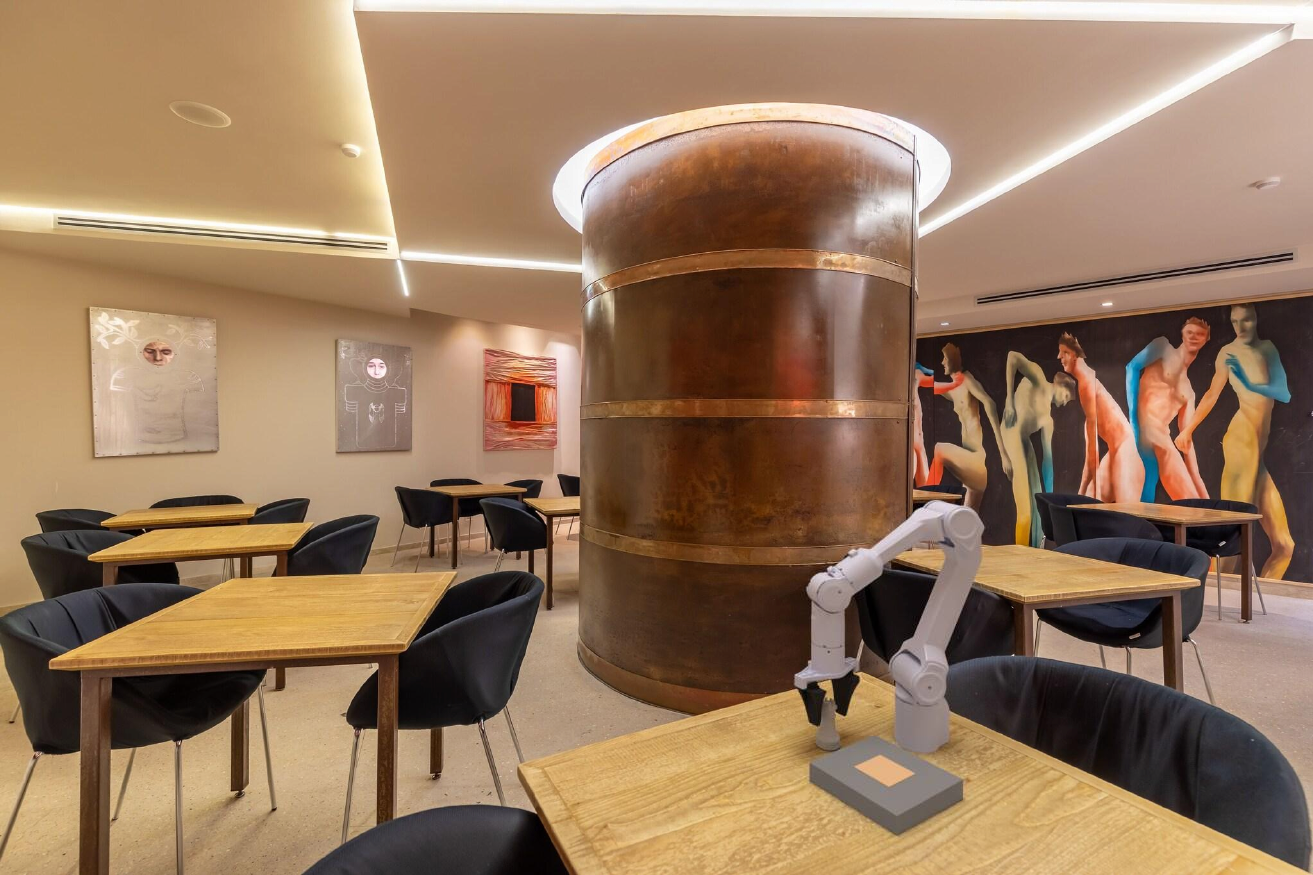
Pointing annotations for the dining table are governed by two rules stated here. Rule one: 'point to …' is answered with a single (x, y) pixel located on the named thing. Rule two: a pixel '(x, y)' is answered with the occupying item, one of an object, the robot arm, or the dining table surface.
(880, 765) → the grey flat square slab
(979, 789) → the dining table surface
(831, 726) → the rook chess piece
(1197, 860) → the dining table surface
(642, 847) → the dining table surface
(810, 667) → the robot arm
